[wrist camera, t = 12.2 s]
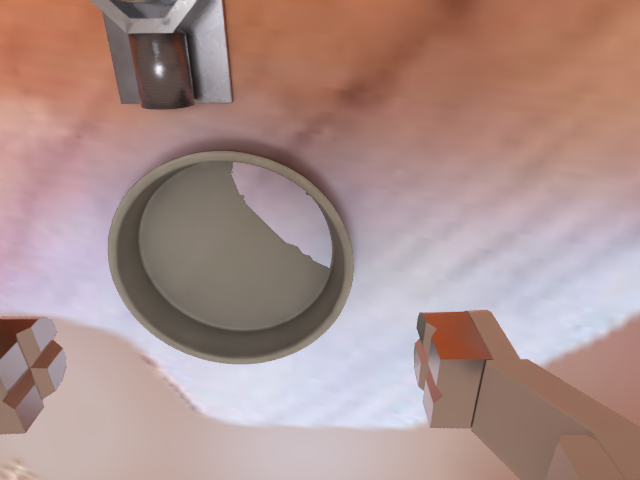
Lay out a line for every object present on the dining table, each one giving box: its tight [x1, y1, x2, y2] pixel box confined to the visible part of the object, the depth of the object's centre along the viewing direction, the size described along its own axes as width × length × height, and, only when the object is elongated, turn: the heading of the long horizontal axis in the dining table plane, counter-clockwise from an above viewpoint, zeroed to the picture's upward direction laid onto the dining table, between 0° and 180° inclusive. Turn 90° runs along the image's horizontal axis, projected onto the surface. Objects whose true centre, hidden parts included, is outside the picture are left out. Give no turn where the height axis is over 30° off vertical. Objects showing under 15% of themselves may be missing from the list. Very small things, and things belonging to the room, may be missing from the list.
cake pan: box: [108, 151, 354, 364], centre depth 46 cm, size 25×25×4 cm
